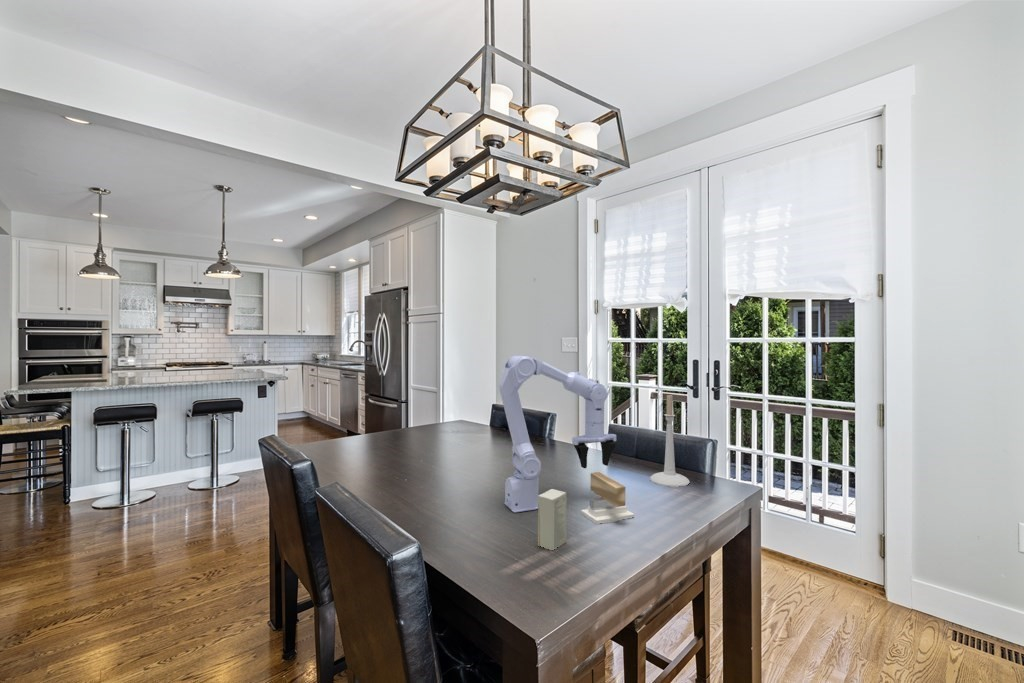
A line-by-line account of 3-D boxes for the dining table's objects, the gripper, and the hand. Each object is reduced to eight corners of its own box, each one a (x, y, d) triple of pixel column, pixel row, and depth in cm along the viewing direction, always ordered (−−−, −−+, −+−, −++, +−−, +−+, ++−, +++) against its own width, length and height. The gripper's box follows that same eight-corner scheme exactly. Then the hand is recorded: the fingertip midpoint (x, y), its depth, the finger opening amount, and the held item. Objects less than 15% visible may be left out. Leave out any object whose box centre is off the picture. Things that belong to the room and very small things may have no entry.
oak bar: (616, 507, 118) (615, 487, 118) (590, 490, 131) (590, 472, 131) (625, 505, 118) (625, 486, 118) (599, 489, 132) (599, 471, 132)
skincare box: (552, 537, 111) (552, 488, 111) (567, 542, 108) (567, 492, 108) (537, 546, 106) (536, 494, 106) (552, 552, 103) (552, 499, 103)
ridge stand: (596, 524, 119) (596, 505, 119) (581, 513, 126) (581, 495, 126) (634, 517, 123) (634, 499, 123) (617, 507, 131) (617, 490, 131)
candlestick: (695, 487, 148) (695, 396, 148) (656, 487, 149) (656, 396, 149) (681, 475, 161) (681, 392, 161) (645, 475, 161) (645, 391, 161)
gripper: (580, 425, 132) (580, 472, 132) (622, 422, 137) (622, 467, 137) (568, 421, 138) (568, 466, 138) (609, 418, 144) (609, 461, 144)
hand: (594, 466), depth 138 cm, fingers open, 7 cm apart
